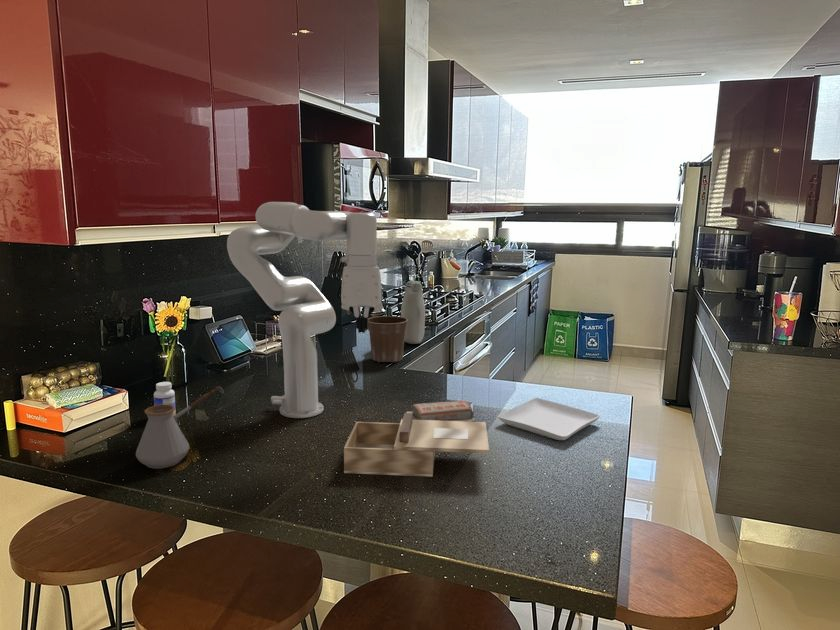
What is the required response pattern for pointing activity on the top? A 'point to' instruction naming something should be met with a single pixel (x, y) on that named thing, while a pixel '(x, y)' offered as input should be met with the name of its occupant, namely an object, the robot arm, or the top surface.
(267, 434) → the top surface
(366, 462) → the mailer box
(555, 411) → the salad plate
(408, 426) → the lid
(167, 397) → the pill bottle
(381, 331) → the plant pot
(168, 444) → the coffee pot
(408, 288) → the glass bottle
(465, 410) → the packaged product
